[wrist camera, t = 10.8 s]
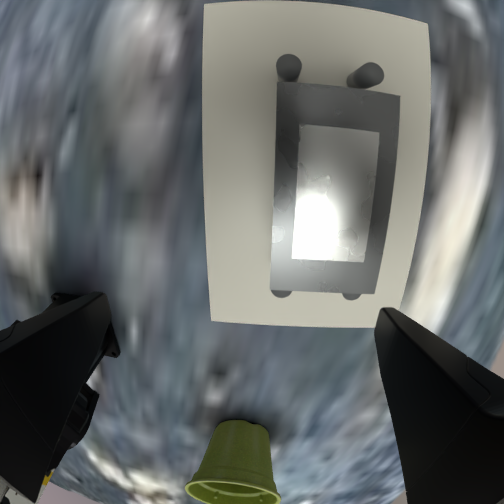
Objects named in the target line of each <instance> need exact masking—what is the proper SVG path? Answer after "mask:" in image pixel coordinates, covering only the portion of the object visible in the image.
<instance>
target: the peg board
mask: <svg viewBox="0 0 504 504" xmlns="http://www.w3.org/2000/svg"><path fill="white" fill-rule="evenodd" d="M277 82H297V83H311V84H323V85H333V86H342V87H350V88H357V89H364V90H371V91H377V92H383V93H388V94H394V95H399V96H400V120H399V137H398V150H397V161H396V171H395V180H394V188H393V196H392V203H391V210H390V217H389V223H388V229H387V235H386V241H385V246H384V251H383V257H382V262H381V266H380V271H379V276H378V281H377V285H376V289H375V294H350V293H325V292H304V291H285V290H269V289H270V269H271V248H272V225H273V200H274V172H275V140H276V101H277ZM430 115H431V64H430V45H429V32H428V24H427V23H423V22H420V21H416V20H413V19H409V18H405V17H401V16H397V15H393V14H388V13H384V12H379V11H374V10H368V9H363V8H357V7H350V6H343V5H335V4H326V3H315V2H301V1H236V2H221V3H211V4H204V22H203V61H202V141H203V182H204V210H205V232H206V250H207V267H208V283H209V297H210V310H211V321H219V322H232V323H246V324H262V325H280V326H304V327H350V328H375V326H376V322H377V318H378V314H379V311H380V309H381V308H382V307H393V308H395V309H397V310H398V311H399V308H400V304H401V301H402V297H403V293H404V289H405V285H406V282H407V277H408V273H409V269H410V265H411V260H412V256H413V251H414V246H415V241H416V236H417V231H418V226H419V220H420V214H421V208H422V201H423V194H424V187H425V179H426V170H427V160H428V149H429V135H430Z"/></svg>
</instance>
